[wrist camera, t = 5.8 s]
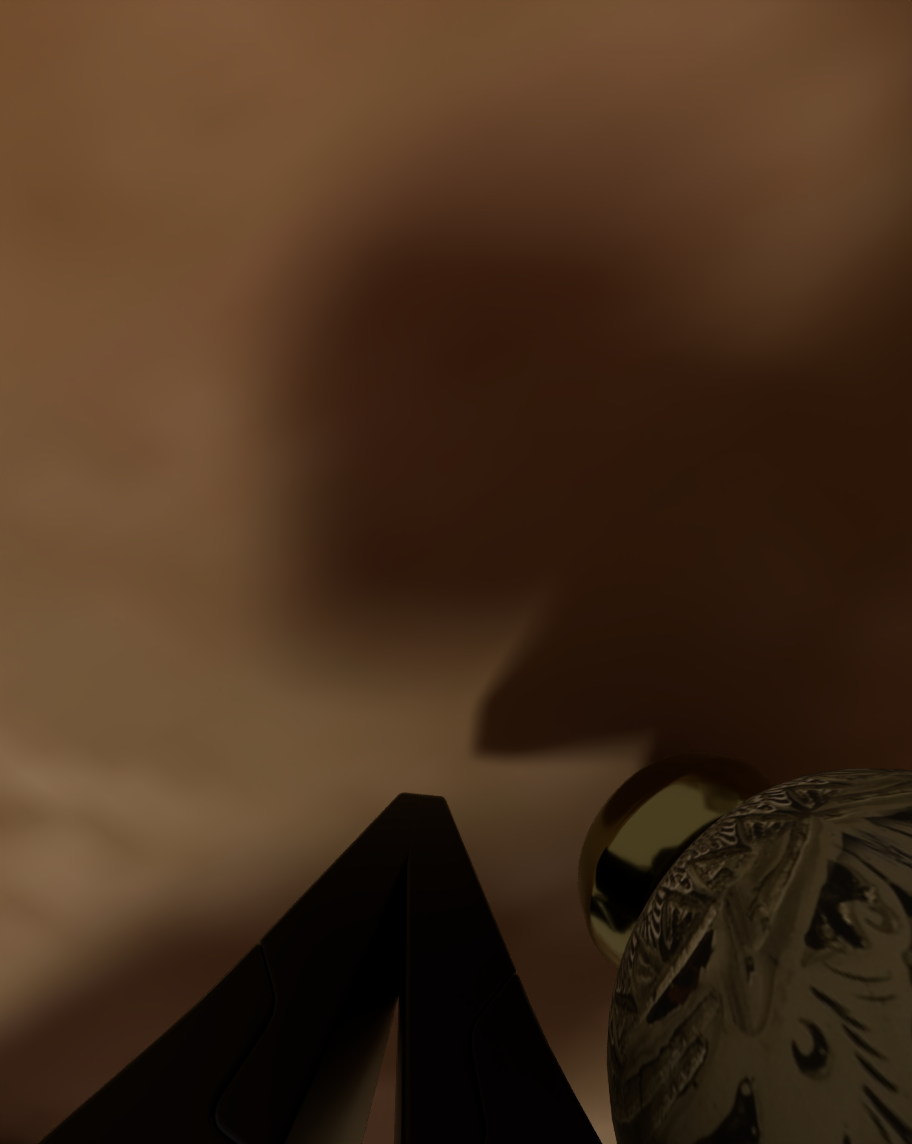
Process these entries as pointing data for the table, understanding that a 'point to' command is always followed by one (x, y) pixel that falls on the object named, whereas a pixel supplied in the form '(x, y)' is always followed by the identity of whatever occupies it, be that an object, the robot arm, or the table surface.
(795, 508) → the table surface
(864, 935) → the cup
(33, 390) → the table surface
